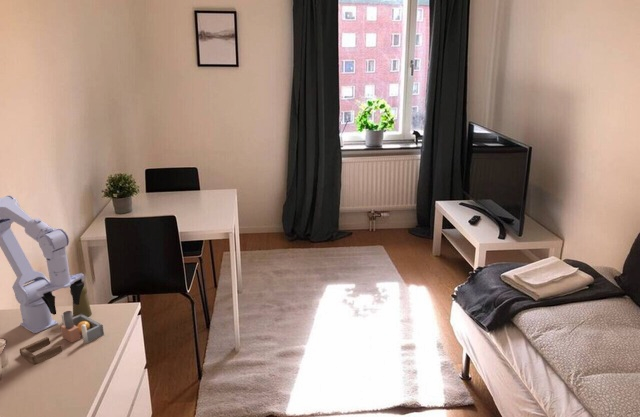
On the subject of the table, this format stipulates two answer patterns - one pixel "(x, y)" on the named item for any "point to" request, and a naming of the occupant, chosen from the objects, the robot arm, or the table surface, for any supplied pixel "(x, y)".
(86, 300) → the olive green tapered cylinder
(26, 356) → the rail frame
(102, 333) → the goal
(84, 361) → the table surface
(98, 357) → the table surface
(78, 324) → the ball
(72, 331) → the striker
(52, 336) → the table surface
